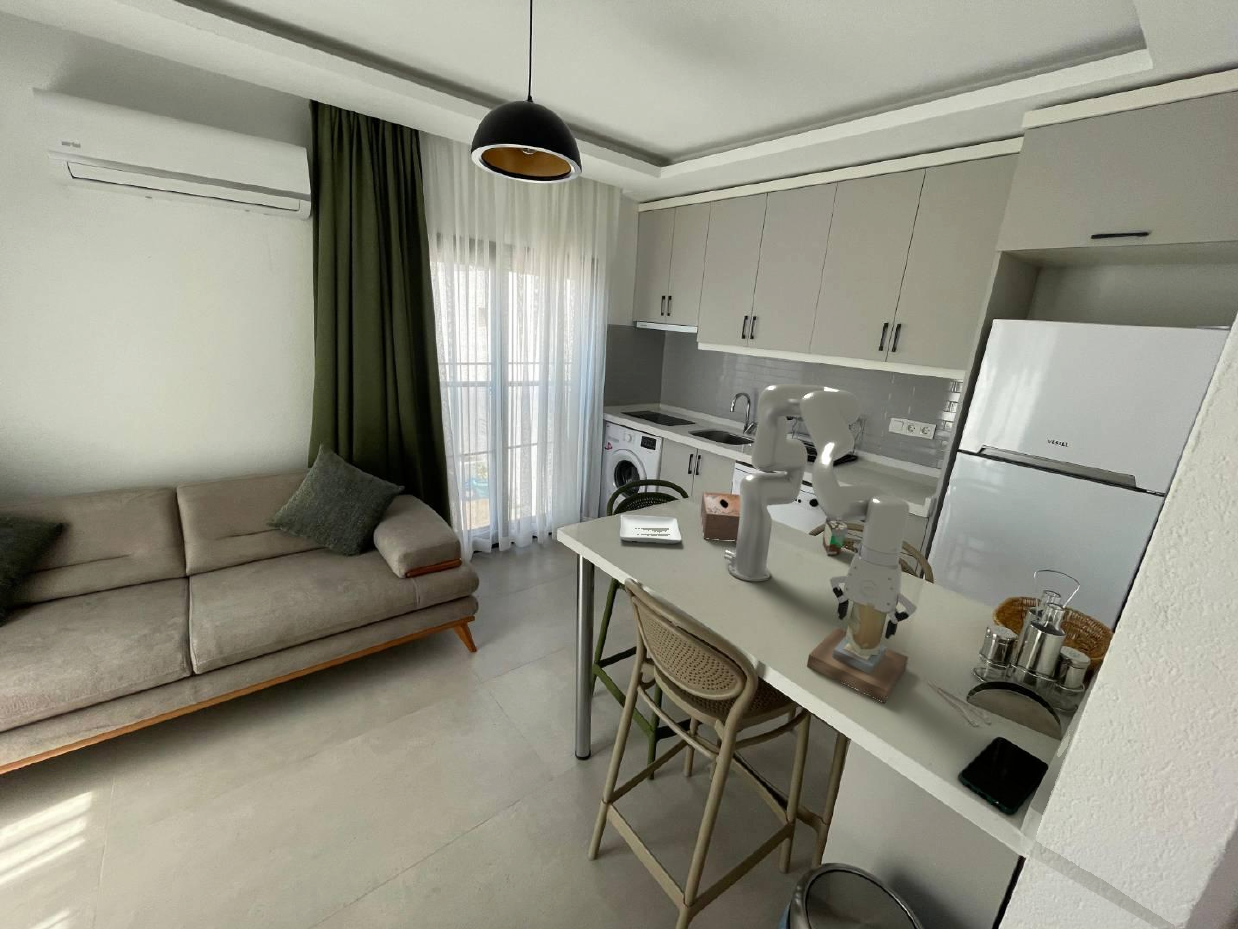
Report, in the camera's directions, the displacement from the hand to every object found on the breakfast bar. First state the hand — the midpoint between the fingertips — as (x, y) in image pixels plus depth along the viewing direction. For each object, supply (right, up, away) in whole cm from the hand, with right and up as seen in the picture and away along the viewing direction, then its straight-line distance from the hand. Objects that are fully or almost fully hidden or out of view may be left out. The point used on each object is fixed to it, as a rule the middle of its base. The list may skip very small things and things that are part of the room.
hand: (864, 626), depth 110 cm
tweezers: (+14, -13, -4) cm, 20 cm away
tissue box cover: (-15, +11, +81) cm, 84 cm away
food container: (+21, +5, +65) cm, 69 cm away
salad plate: (-43, +10, +72) cm, 84 cm away
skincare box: (0, -5, +1) cm, 5 cm away
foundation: (-1, -10, +3) cm, 10 cm away
